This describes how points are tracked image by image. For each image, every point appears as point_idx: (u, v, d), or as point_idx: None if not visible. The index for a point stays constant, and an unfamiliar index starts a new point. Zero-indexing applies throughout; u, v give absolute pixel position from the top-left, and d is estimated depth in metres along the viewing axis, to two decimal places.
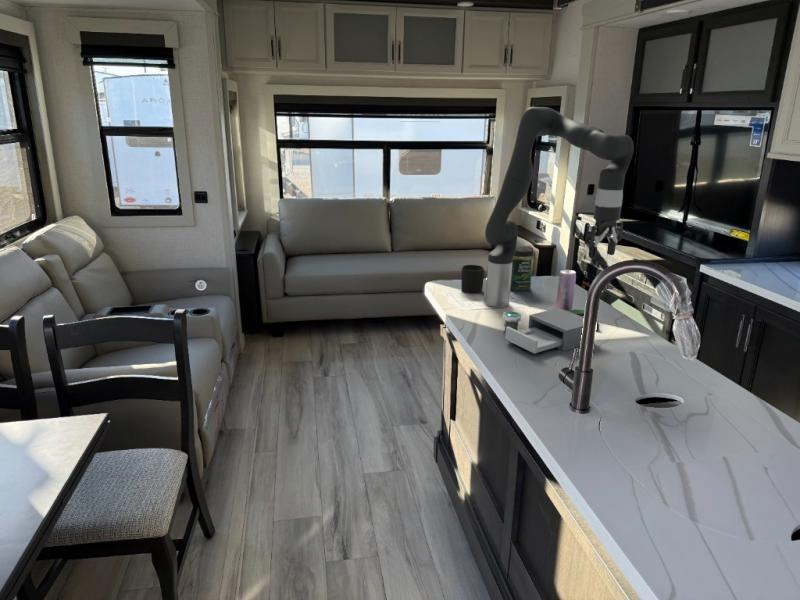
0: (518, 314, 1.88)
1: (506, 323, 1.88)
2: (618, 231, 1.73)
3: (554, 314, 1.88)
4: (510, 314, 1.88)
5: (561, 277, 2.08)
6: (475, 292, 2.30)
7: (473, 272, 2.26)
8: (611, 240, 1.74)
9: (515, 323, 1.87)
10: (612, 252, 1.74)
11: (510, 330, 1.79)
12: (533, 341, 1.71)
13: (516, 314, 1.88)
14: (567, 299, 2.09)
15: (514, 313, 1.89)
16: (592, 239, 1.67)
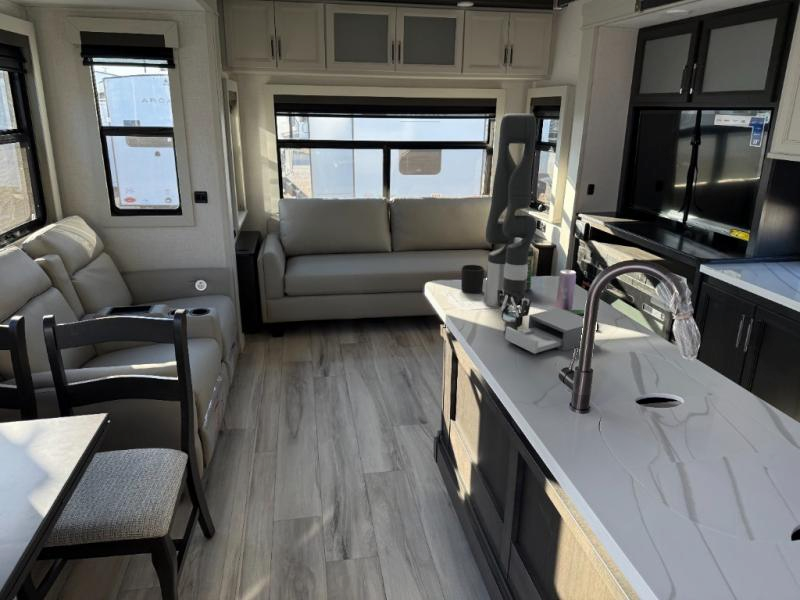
0: None
1: (506, 323, 1.88)
2: (503, 298, 1.91)
3: (554, 314, 1.88)
4: (510, 314, 1.88)
5: (561, 277, 2.08)
6: (475, 292, 2.30)
7: (473, 272, 2.26)
8: (505, 308, 1.90)
9: None
10: None
11: (510, 330, 1.79)
12: (533, 341, 1.71)
13: None
14: (567, 299, 2.09)
15: (514, 313, 1.89)
16: None
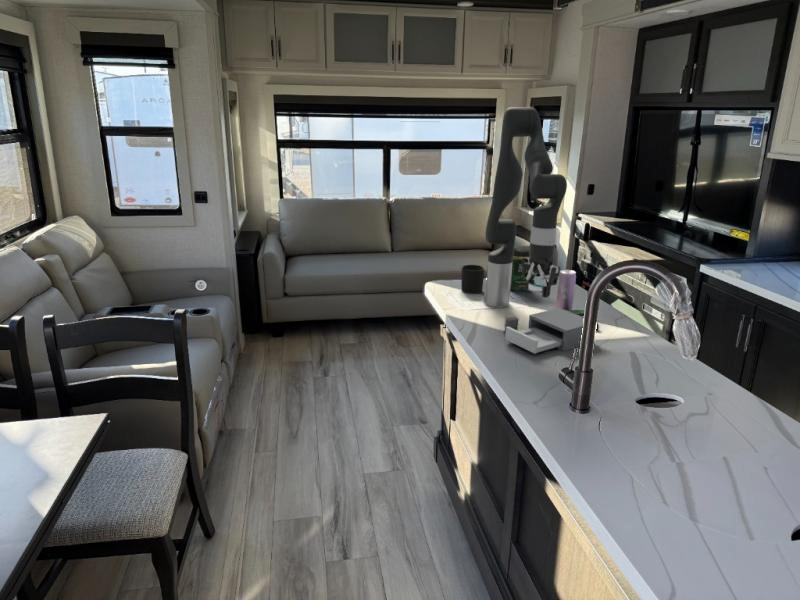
0: None
1: (506, 323, 1.88)
2: (529, 267, 1.76)
3: (554, 314, 1.88)
4: (536, 284, 1.73)
5: (561, 277, 2.08)
6: (475, 292, 2.30)
7: (473, 272, 2.26)
8: (531, 277, 1.75)
9: (515, 323, 1.87)
10: None
11: (510, 330, 1.79)
12: (533, 341, 1.71)
13: (543, 284, 1.73)
14: (567, 299, 2.09)
15: (541, 283, 1.74)
16: None
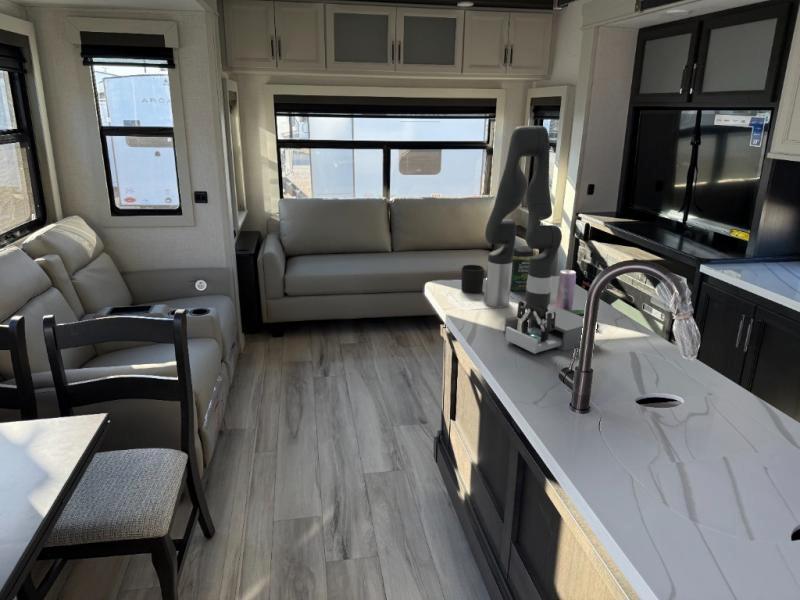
0: (540, 335, 1.79)
1: (506, 323, 1.88)
2: (524, 309, 1.82)
3: None
4: (532, 335, 1.79)
5: (561, 277, 2.08)
6: (475, 292, 2.30)
7: (473, 272, 2.26)
8: (525, 320, 1.81)
9: (515, 323, 1.87)
10: (527, 329, 1.82)
11: (510, 330, 1.79)
12: (533, 341, 1.71)
13: (538, 335, 1.79)
14: (567, 299, 2.09)
15: (536, 333, 1.80)
16: None
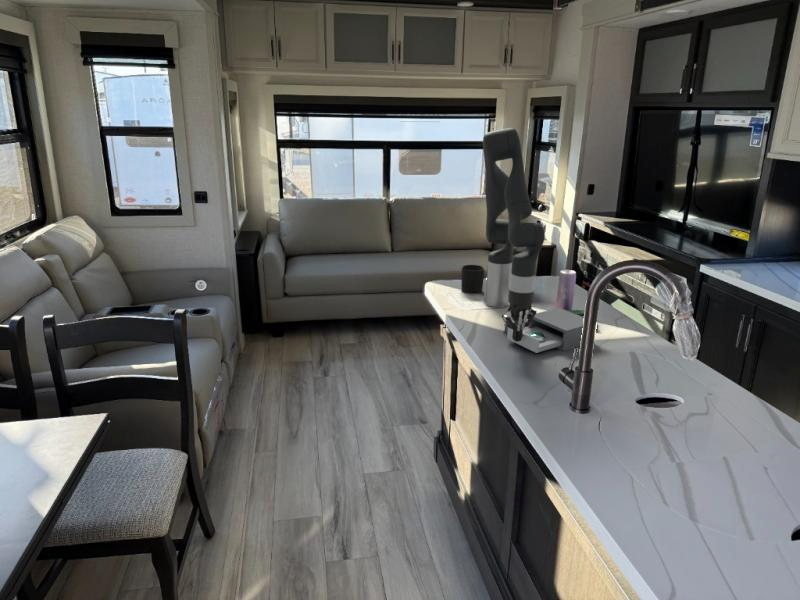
0: (542, 334, 1.79)
1: None
2: None
3: (554, 314, 1.88)
4: (534, 334, 1.79)
5: (561, 277, 2.08)
6: (475, 292, 2.30)
7: (473, 272, 2.26)
8: None
9: None
10: None
11: (512, 330, 1.79)
12: (535, 340, 1.71)
13: (540, 334, 1.79)
14: (567, 299, 2.09)
15: (538, 333, 1.80)
16: None
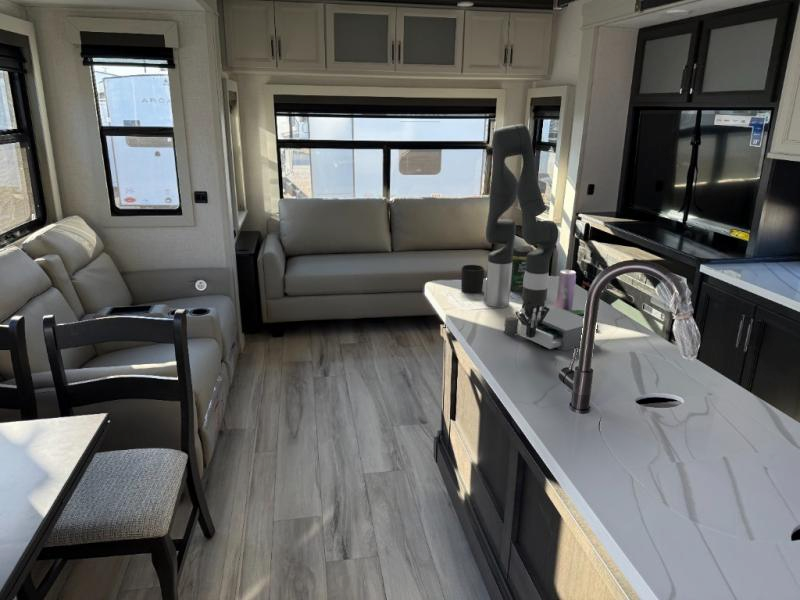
0: (555, 331, 1.82)
1: (506, 323, 1.88)
2: None
3: (554, 314, 1.88)
4: (546, 331, 1.82)
5: (561, 277, 2.08)
6: (475, 292, 2.30)
7: (473, 272, 2.26)
8: None
9: (515, 323, 1.87)
10: None
11: (525, 326, 1.82)
12: (548, 337, 1.74)
13: (553, 331, 1.82)
14: (567, 299, 2.09)
15: (551, 330, 1.83)
16: None
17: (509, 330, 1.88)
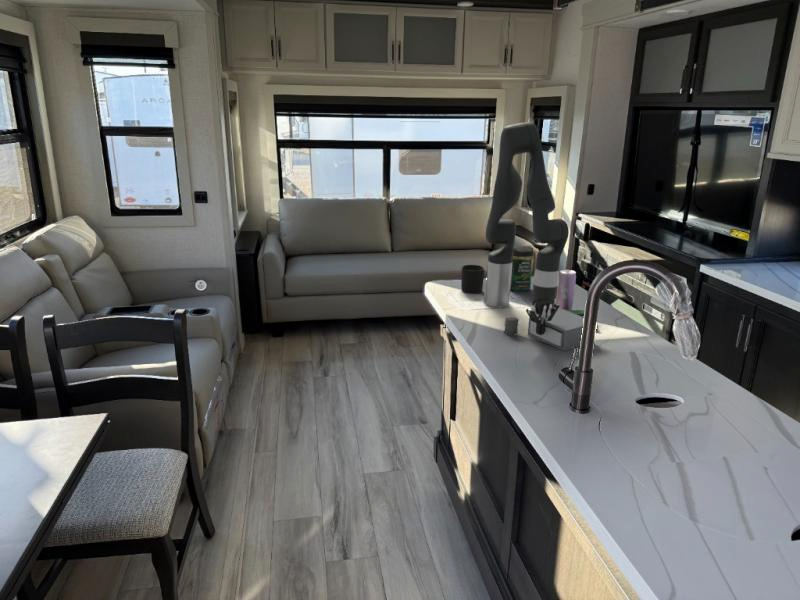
0: None
1: (506, 323, 1.88)
2: None
3: None
4: None
5: (561, 277, 2.08)
6: (475, 292, 2.30)
7: (473, 272, 2.26)
8: None
9: (515, 323, 1.87)
10: None
11: (535, 324, 1.84)
12: (558, 334, 1.76)
13: None
14: (567, 299, 2.09)
15: None
16: None
17: (509, 330, 1.88)
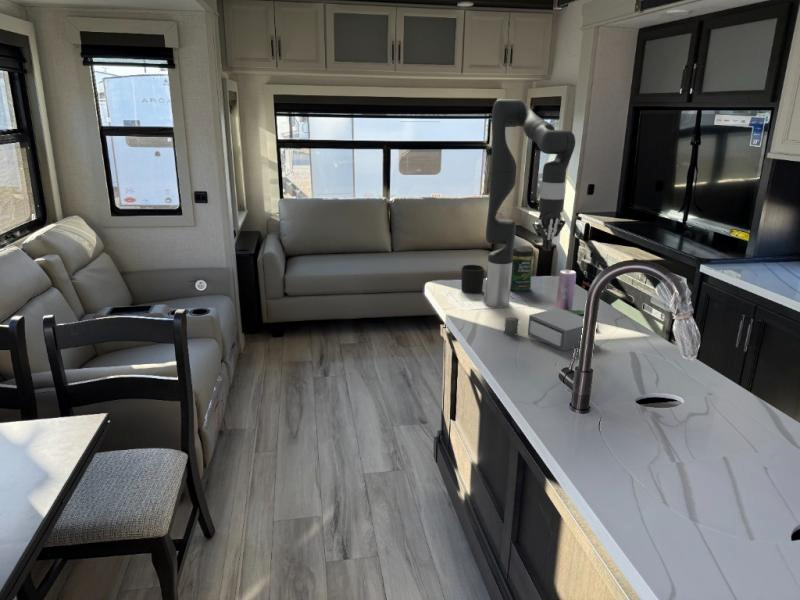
0: None
1: (506, 323, 1.88)
2: None
3: (554, 314, 1.88)
4: None
5: (561, 277, 2.08)
6: (475, 292, 2.30)
7: (473, 272, 2.26)
8: None
9: (515, 323, 1.87)
10: None
11: (535, 324, 1.84)
12: (558, 334, 1.76)
13: None
14: (567, 299, 2.09)
15: None
16: None
17: (509, 330, 1.88)
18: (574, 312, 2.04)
